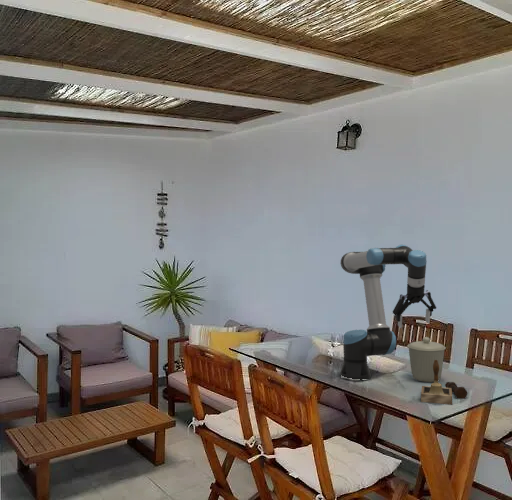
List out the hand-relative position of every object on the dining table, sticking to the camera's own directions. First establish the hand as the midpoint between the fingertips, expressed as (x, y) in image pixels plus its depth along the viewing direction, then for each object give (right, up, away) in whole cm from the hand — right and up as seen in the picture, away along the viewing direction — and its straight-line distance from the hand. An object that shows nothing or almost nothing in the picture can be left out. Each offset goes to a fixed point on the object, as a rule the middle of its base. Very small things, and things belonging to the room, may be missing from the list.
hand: (413, 324), depth 243 cm
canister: (+11, -30, +15) cm, 35 cm away
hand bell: (+5, -29, -16) cm, 34 cm away
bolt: (+16, -30, -8) cm, 35 cm away
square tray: (+5, -30, -16) cm, 34 cm away
